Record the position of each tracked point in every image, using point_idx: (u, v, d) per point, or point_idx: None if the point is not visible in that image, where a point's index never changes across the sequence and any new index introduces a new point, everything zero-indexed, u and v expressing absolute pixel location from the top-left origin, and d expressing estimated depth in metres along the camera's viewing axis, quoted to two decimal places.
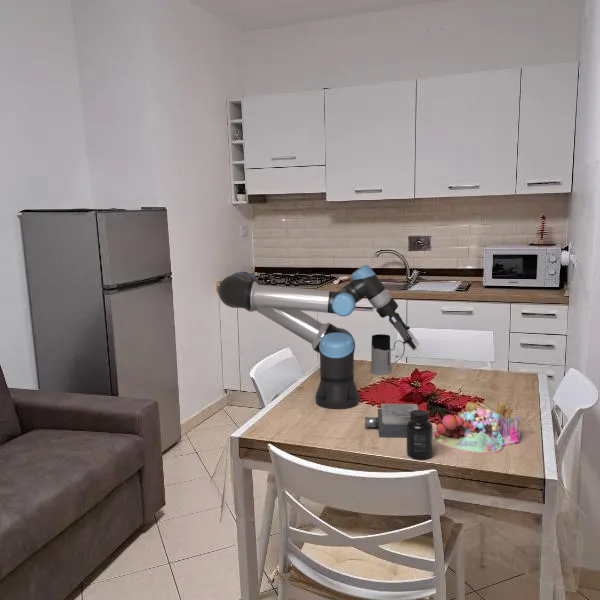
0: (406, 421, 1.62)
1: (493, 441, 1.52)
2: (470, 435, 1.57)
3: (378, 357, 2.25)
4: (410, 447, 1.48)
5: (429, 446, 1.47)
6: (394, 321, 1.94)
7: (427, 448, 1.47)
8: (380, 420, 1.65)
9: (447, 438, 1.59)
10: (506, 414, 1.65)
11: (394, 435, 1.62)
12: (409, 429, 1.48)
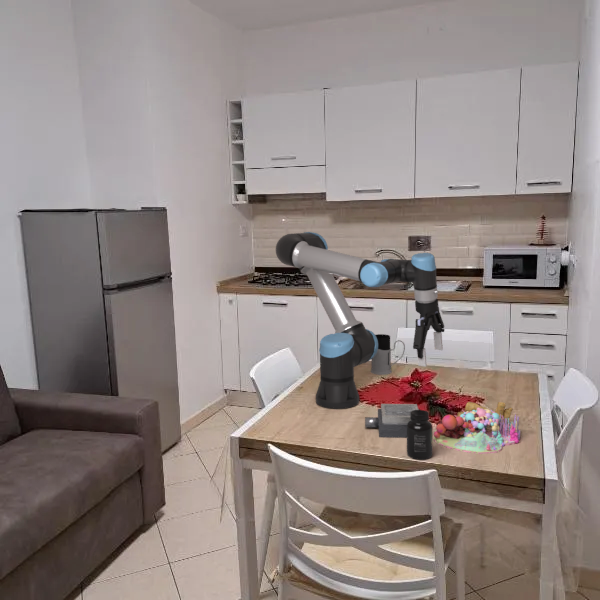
0: (406, 421, 1.62)
1: (493, 441, 1.52)
2: (470, 435, 1.57)
3: (378, 357, 2.25)
4: (410, 447, 1.48)
5: (429, 446, 1.47)
6: (418, 324, 1.82)
7: (427, 448, 1.47)
8: (380, 420, 1.65)
9: (447, 438, 1.59)
10: (506, 414, 1.65)
11: (394, 435, 1.62)
12: (409, 429, 1.48)
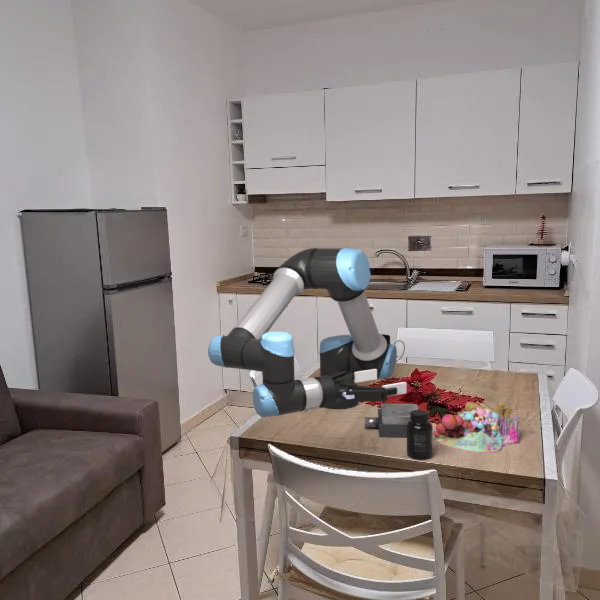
0: (406, 421, 1.62)
1: (492, 441, 1.52)
2: (470, 435, 1.57)
3: None
4: (410, 447, 1.48)
5: (429, 446, 1.47)
6: None
7: (427, 448, 1.47)
8: (380, 420, 1.65)
9: (447, 438, 1.59)
10: (505, 414, 1.66)
11: (394, 435, 1.62)
12: (409, 429, 1.48)
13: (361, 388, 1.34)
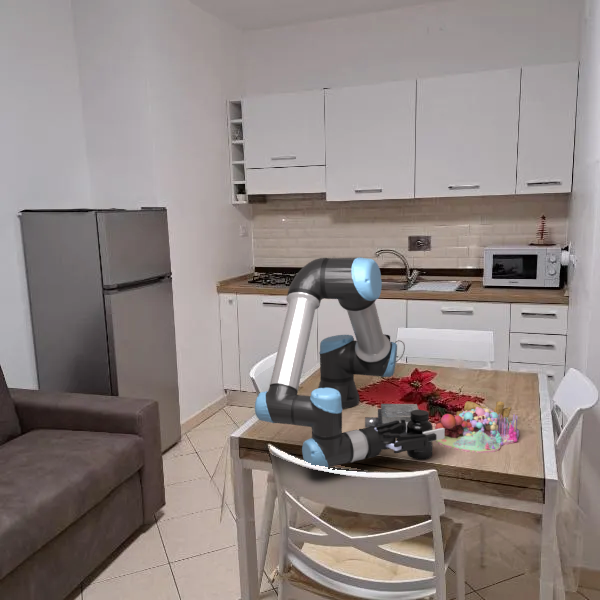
0: (406, 421, 1.62)
1: (492, 440, 1.53)
2: (469, 434, 1.57)
3: None
4: None
5: (429, 446, 1.47)
6: None
7: (427, 448, 1.47)
8: (380, 420, 1.65)
9: (446, 437, 1.59)
10: (504, 413, 1.66)
11: None
12: (409, 429, 1.48)
13: (404, 437, 1.43)
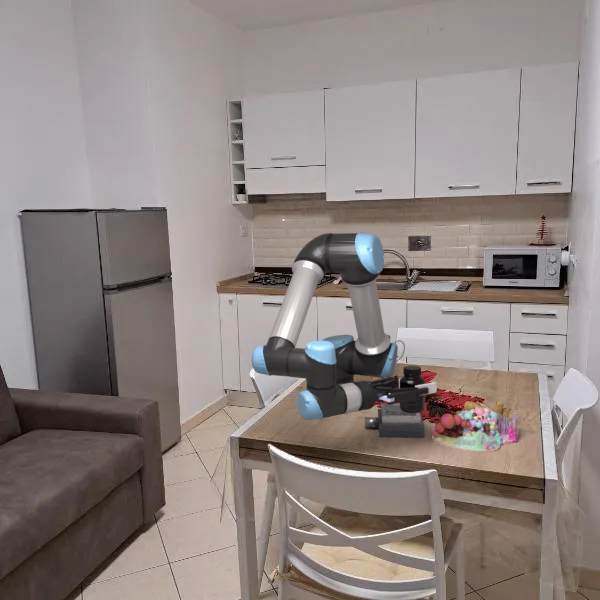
0: (406, 421, 1.62)
1: (491, 440, 1.53)
2: (468, 434, 1.58)
3: None
4: None
5: (422, 400, 1.50)
6: None
7: (420, 401, 1.49)
8: (380, 420, 1.65)
9: (446, 437, 1.60)
10: (504, 413, 1.66)
11: (394, 435, 1.62)
12: (402, 384, 1.50)
13: (397, 390, 1.46)
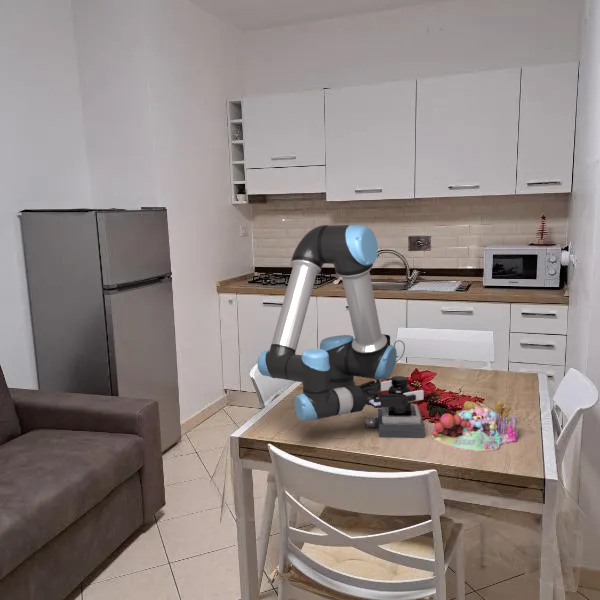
0: (406, 421, 1.62)
1: (491, 440, 1.53)
2: (468, 434, 1.58)
3: None
4: (391, 409, 1.65)
5: (408, 408, 1.64)
6: None
7: (406, 409, 1.64)
8: (380, 420, 1.65)
9: (445, 437, 1.60)
10: (504, 413, 1.66)
11: (394, 435, 1.62)
12: (390, 393, 1.65)
13: (385, 396, 1.59)
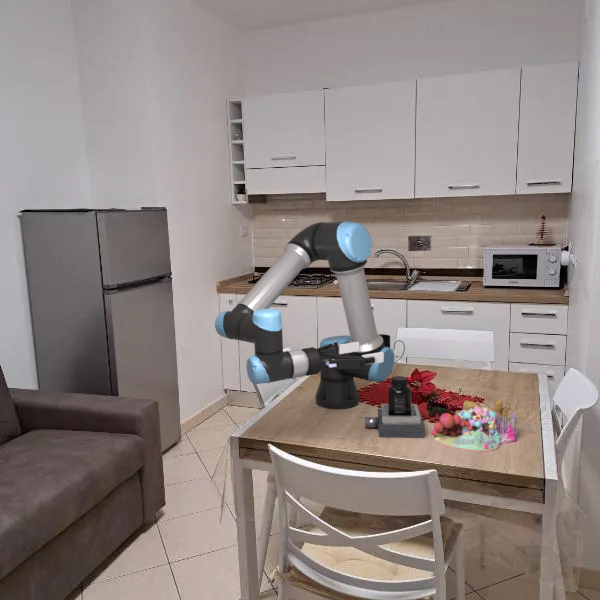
0: (406, 421, 1.62)
1: (490, 439, 1.54)
2: (467, 433, 1.58)
3: None
4: (391, 409, 1.65)
5: (408, 408, 1.64)
6: None
7: (406, 409, 1.64)
8: (380, 420, 1.65)
9: (445, 436, 1.60)
10: (503, 413, 1.67)
11: (394, 435, 1.62)
12: (390, 393, 1.65)
13: (343, 358, 1.51)
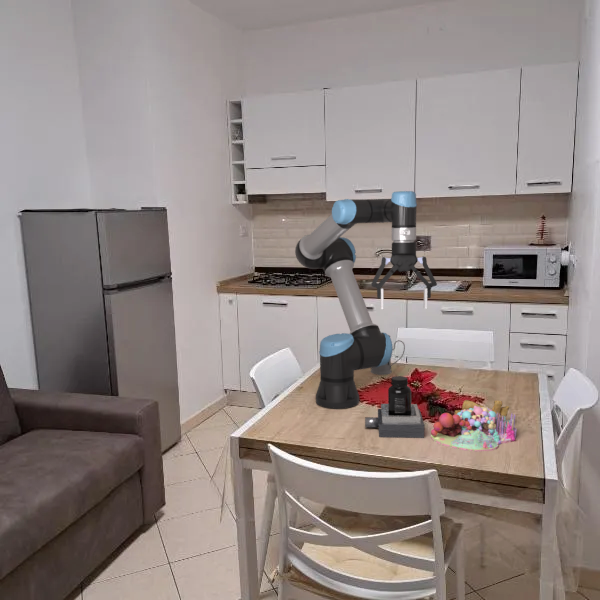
0: (406, 421, 1.62)
1: (489, 439, 1.54)
2: (467, 433, 1.58)
3: None
4: (391, 409, 1.65)
5: (408, 408, 1.64)
6: (381, 261, 1.75)
7: (406, 409, 1.64)
8: (380, 420, 1.65)
9: (444, 436, 1.60)
10: (502, 412, 1.67)
11: (394, 435, 1.62)
12: (390, 393, 1.65)
13: None
